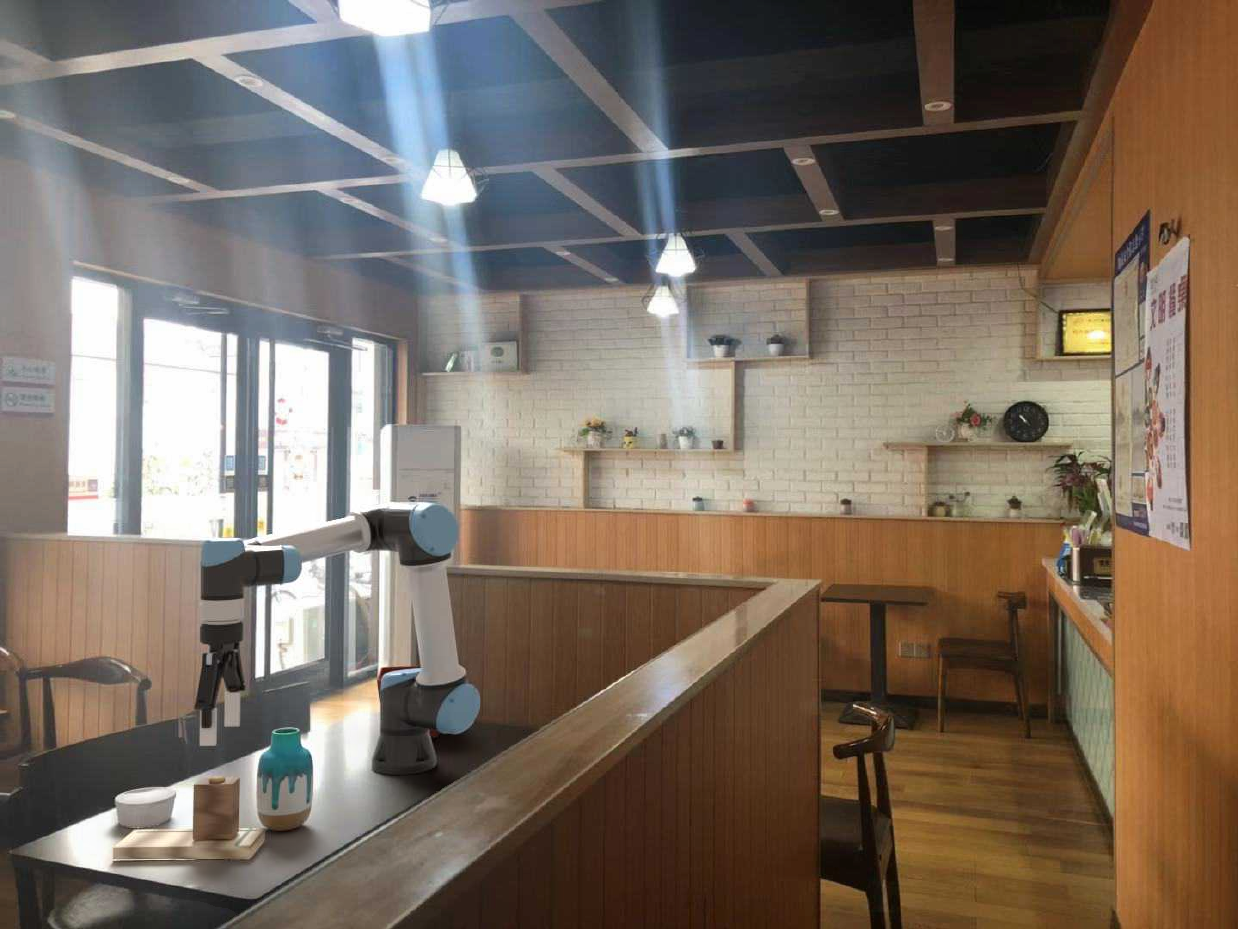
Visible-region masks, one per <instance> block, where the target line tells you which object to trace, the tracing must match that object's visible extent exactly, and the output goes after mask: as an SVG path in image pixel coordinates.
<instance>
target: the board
mask: <svg viewBox="0 0 1238 929" xmlns="http://www.w3.org/2000/svg"><path fill="white" fill-rule="evenodd" d="M265 828H266V827H246V828H245V827H244V828H243V827H239V832H238V833H237V834H236V835H235V836H234V837H233V838H232V839H205V840H193V828H170V829H169V828H166V829H165V828H163V829H161V828H160V829H159V828H157V829H156V828H155V829H133V830H132V831H131V832H130V833H129V834H128V835H126V836H125V837H123V839H121V840H120V841H119V842H118V843H117V844H116V845H114V846H113V847H112V860H113V859H226V860H225V861H228V860H227V859H230V861H232V860H233V859H234V861H235V860H241V859H242V860H243V859H244V860H251V859H252V857H253V856H254V855H255V854H256V852H257V851H258V850H259V849H260V847H261V846H262V845H263V844H264V842H265V841H266V840H265V838H266V837H265V836H266V834H265V832H266V829H265Z"/></svg>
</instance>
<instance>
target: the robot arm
mask: <svg viewBox="0 0 1238 929" xmlns="http://www.w3.org/2000/svg"><path fill="white" fill-rule="evenodd" d="M347 513H348V514H346V515H345V517H344V518H340V519H339V518H338V519H334V520H330V521H326V522H321V523H316V524H312V525H308V526H304V527H303V526H302V527H299V528H294V529H290V530H285V531H281V532H277V533H273V534H267V535H264V536H260V537H254V538H251V539H247V540H246V539H245V540H243V539H242V538H236V537H230V538H229V537H225V538H223V537H222V538H209V539H206V540H204V541H203V542H202V544H201V550H200V561H199V566H200V603H198V604H197V608H198V609H199V610H200V617H199V619H200V620H201V621H203V622H202V623H200V625H199V641H200V643H201V644H202V645H208V646H209V652H203V653H202V655H201V656H202V657H201V659H202V660H201V670H200V675H199V681H198V688H197V692H196V699H195V703H194V710H195V711H199V746H200V747H205V746H206V747H209V746H210V747H213V746H216V745H217V740H218V739H217V729H218V727H217V723H218V721H217V720H218V708H215V707H216V704H217V699H218V695H219V691H220V687H221V685H222V684H221V682H222V680H223V682H224V686H225V688H226V691H225V692H224V727H226V728H227V727H240V726H241V692H243V691H246V685H245V679H244V678H245V677H244V672H243V671H244V670H243V666H242V665H243V664H242V658H241V653H240V645H241V644H240V643H241V642H242V641H243V639H244V622H243V621H242V619H244V618H245V615H244V614H245V611H244V609H245V608H244V607H245V606H244V605H245V602H244V601H245V598H244V596H245V595H244V594H245V588H250V587H259V586H261V587H262V586H272V585H280V586H282V585H284V584H289V583H290V584H291V583H294V582H296V581H297V580H298V579H299V577H300V575H302V574H301V573H302V570H303V567H302V566H303V565H302V564H304V563H308V562H312V561H316V560H320V559H323V558H327V557H331V556H337V555H341V554H343V553H347V552H355V553H357V554H361V553H366V552H371V551H385V552H396V553H397V554H398V559H399V566H401V567H402V568H403V569H405V570H406V571H407V573H408V574H407V575H408V582H409V588H410V589H409V590H410V597H411V604H412V611H413V620H414V626H415V633H416V642H417V649H418V656H419V662H420V666H421V668H416V669H405V670H398V671H393V672H389V673H386V674H385V675H383V677H382V679H381V689H380V700H379V722H380V723H379V737H378V740H377V743H376V745H375V749H374V752H373V755H372V758H371V769H372V770H373V771H374V772H376V773H380V774H382V775H391V776H405V775H407V776H408V775H415V774H420V773H424V772H427V771H430V770H432V769H434V768H435V767H436V766H437V754H436V751H435V748H434V744H433V742H432V738H431V737H430V734H429V729H430V730H434V731H439V734H440V733H441V734H445V735H447V734H451V735H458V734H461V733H463V732H466V731H467V730H468V729H469V728H470V727H471V726H472V724H473V723H475V719H476V718H477V716H478V713H479V712H480V707H481V696H480V692H479V690H478V689H477V688H476V687H475V686H474V685H473V684H471V683H468V676H467V671H466V668H464V667H463V666H461V665H460V664H459V657H458V656H459V655H458V650H457V642H456V641H457V640H456V637H455V636H456V634H455V626H454V618H453V611H452V604H451V597H450V589H449V580H448V579H449V578H448V574H447V572H448V571H447V564H448V563H449V562H450V560H451V559H452V551H453V550H454V549H455V547H456V545H457V543H456V542H457V541H458V540H459V534H460V532H459V525H458V521H457V519H456V516H455V514H454V513H453V512H452V511H451V510H450V509H448V507H446V506H445V505H442V504H440V503H433V502H432V501H431V502H429V501H389V502H385V503H382V504H377V505H373V506H370V507H366V508H362V509H360V510H359V509H358V510H355V511H354V510H353V511H351V512H347Z"/></svg>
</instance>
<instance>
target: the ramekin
mask: <svg viewBox="0 0 1238 929" xmlns="http://www.w3.org/2000/svg"><path fill="white" fill-rule="evenodd" d="M176 798H177V791H176V790H175V789H173V788H171V787H165V786H151V787H142V788H136V789H131V790H128V791H124V792H122V793H120V794H118V795H116V796H115V799H114V805H115V807H116V816H117V821H118V823H119V825H121V827H124V826H126V827H125V828H127V827H135V828H134V829H138V828H137V827H146V828H149V827H148V826H152V827H154V826H153V825H156V826H158V825H157V824H159V825H162V824H164V823H165V822H168V820H170V818H171V817H172V815H173V812H174V805H175V801H176V800H175V799H176ZM163 822H164V823H163ZM161 823H162V824H161Z"/></svg>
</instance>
